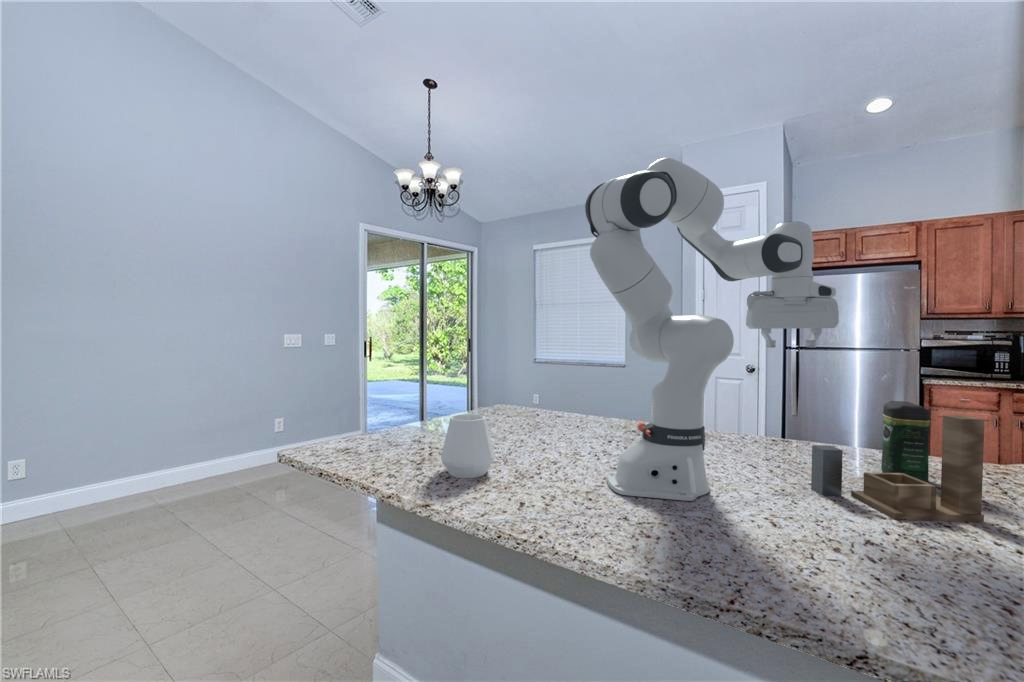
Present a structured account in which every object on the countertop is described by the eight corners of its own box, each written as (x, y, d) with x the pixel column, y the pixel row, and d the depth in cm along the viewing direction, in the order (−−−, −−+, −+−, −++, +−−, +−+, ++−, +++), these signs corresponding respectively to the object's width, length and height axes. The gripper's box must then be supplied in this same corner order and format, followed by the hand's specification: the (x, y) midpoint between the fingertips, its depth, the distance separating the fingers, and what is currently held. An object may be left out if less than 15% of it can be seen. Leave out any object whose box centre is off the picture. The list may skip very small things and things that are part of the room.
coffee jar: (934, 487, 104) (937, 406, 103) (891, 482, 107) (893, 404, 106) (915, 474, 113) (918, 400, 112) (876, 470, 116) (878, 398, 115)
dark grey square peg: (822, 495, 98) (823, 449, 98) (811, 489, 102) (812, 445, 102) (841, 496, 98) (842, 450, 98) (829, 489, 102) (830, 445, 102)
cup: (486, 462, 122) (486, 410, 122) (501, 477, 109) (501, 420, 109) (436, 466, 118) (436, 413, 118) (446, 483, 105) (445, 424, 105)
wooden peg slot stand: (894, 519, 86) (897, 418, 86) (851, 496, 98) (853, 407, 98) (983, 521, 85) (987, 420, 85) (928, 497, 97) (931, 408, 97)
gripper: (753, 290, 108) (752, 348, 109) (843, 289, 107) (842, 347, 107) (741, 292, 114) (741, 347, 115) (827, 291, 113) (826, 346, 113)
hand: (790, 347), depth 111 cm, fingers open, 8 cm apart
